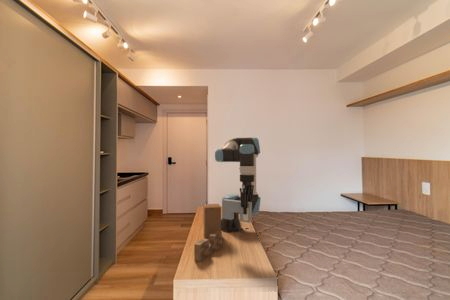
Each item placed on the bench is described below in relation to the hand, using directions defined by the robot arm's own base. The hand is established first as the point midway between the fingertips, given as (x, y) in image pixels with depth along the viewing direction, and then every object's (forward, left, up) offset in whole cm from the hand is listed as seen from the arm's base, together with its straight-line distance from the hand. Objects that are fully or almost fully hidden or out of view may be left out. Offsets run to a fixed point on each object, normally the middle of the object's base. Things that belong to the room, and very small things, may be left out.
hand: (247, 219), depth 119 cm
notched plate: (0, -6, -1) cm, 6 cm away
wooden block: (-12, -29, -19) cm, 36 cm away
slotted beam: (+7, -19, -18) cm, 27 cm away
